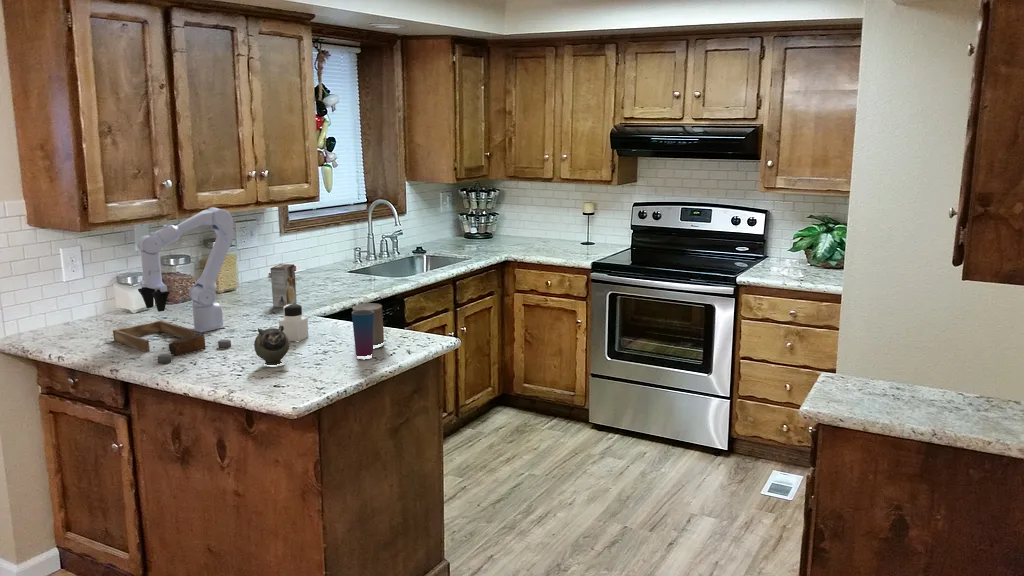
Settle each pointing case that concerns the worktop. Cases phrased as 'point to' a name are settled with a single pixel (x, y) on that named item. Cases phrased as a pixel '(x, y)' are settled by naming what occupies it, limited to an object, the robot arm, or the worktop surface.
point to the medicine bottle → (294, 323)
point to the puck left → (164, 358)
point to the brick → (187, 345)
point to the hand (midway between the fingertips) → (155, 309)
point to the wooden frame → (131, 333)
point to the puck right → (224, 343)
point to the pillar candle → (374, 320)
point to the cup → (363, 331)
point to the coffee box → (283, 285)
